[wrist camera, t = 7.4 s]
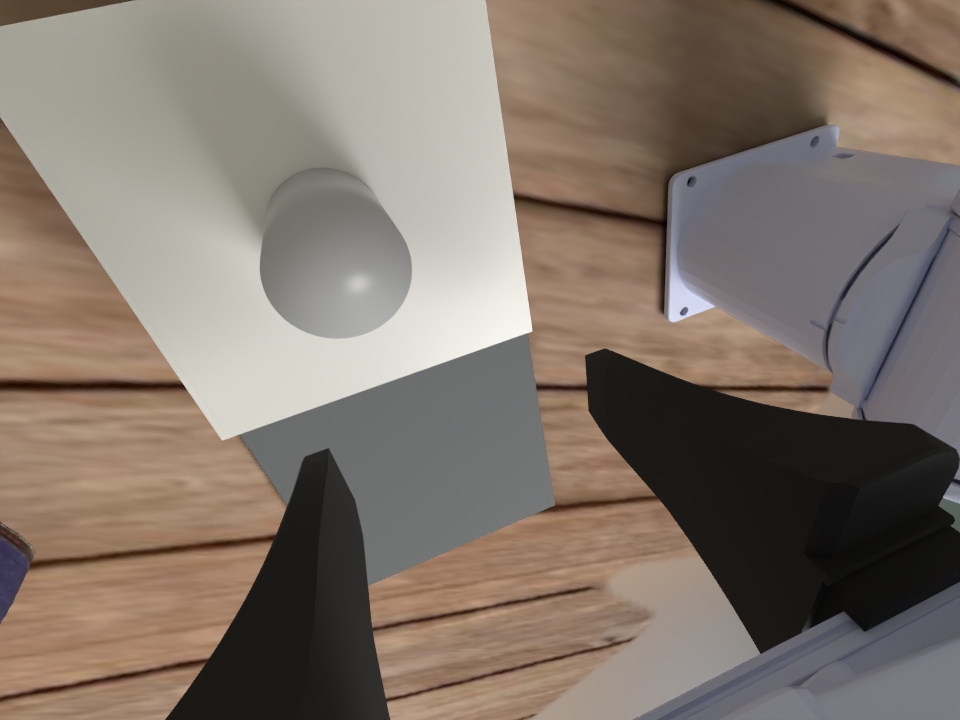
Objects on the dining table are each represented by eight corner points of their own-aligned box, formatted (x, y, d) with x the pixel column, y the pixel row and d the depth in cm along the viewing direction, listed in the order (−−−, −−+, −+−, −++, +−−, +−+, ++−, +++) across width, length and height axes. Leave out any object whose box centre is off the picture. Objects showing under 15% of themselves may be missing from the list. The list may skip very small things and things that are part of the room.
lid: (463, -57, 12) (540, -109, 8) (521, 319, 18) (579, 383, 15) (-29, 38, 10) (-203, 26, 6) (225, 421, 16) (208, 524, 13)
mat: (519, 304, 23) (523, 307, 23) (552, 500, 32) (554, 505, 32) (225, 407, 21) (225, 412, 21) (346, 589, 30) (346, 594, 29)
